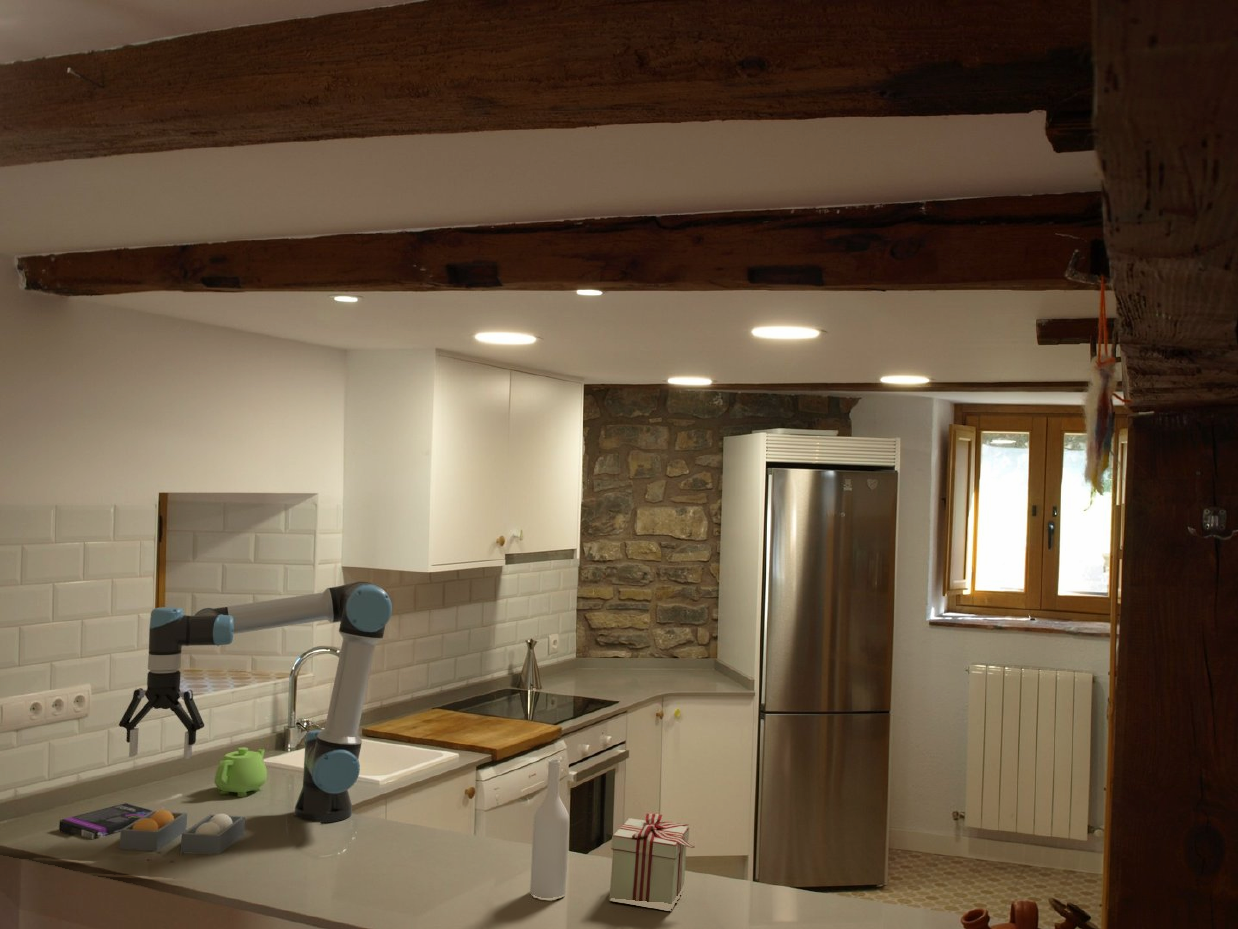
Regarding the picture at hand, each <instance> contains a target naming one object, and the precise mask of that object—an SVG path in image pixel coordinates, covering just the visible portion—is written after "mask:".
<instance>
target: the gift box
mask: <svg viewBox="0 0 1238 929" xmlns="http://www.w3.org/2000/svg"><path fill="white" fill-rule="evenodd" d="M662 817H663V814H657V813H646V814H645V820H644V819H637V818H631V817H628V818H627V819H626V820H625V822H624V823H623V824H622V825H621V826H620V827H619V828H618V829H617V831H615V833H614V834H613V835H612V836H611V848H610V849H611V850H612V857H611V859H612V860H611V861H612V862H611V871H610V872H611V873H610V875H611V876H610V886H609V899H610V898H615V899H626V900H635V901H647V902H664V903H668V904H672V902H673V901H674V900H675V898H676V896H678V894H679V893H680V891H681V889H682V887H683V885H684V886H685V874H686V861H687V860H686V859H687V857H686V856H687V847H688V848H690V849H694V848H696V846H695V845H693V844H692V845H691V844H690V843H689V842H688V841H689V834H690V827H688V826H689V824H684V823H678V822H674V821H661V820H662Z"/></svg>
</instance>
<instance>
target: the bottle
mask: <svg viewBox="0 0 1238 929" xmlns="http://www.w3.org/2000/svg"><path fill="white" fill-rule="evenodd" d="M547 767H548V768H547V786H546V794H545V795H546V796H545V797H544V798H543V801H542V802H541V803H540V805H539V806H538V807H537V809H536V811H535V813H534V816H533V824H532V825H533V826H532V828H533V829H532V844H531V847H532V848H531V864H530V865H531V868H530V889H529V894H530V893H531V894H532V895H535V896H537V897H541V898H553V897H559V896H562V895H564V894H565V893H567V876H568V875H567V874H568V858H569V857H568V856H569V855H568V853H569V837H570V834H569V833H570V815H569V812H568V811H567V808H566V806H565V805H564V803H563V801H562V799H561V797H560V772H561V761H560V760H559V759H550V760H548V766H547Z"/></svg>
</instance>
